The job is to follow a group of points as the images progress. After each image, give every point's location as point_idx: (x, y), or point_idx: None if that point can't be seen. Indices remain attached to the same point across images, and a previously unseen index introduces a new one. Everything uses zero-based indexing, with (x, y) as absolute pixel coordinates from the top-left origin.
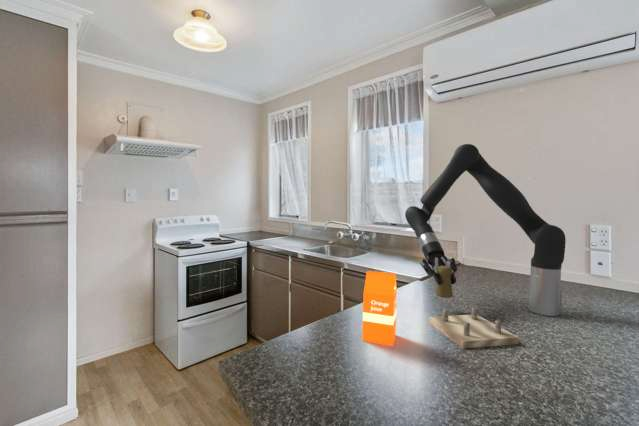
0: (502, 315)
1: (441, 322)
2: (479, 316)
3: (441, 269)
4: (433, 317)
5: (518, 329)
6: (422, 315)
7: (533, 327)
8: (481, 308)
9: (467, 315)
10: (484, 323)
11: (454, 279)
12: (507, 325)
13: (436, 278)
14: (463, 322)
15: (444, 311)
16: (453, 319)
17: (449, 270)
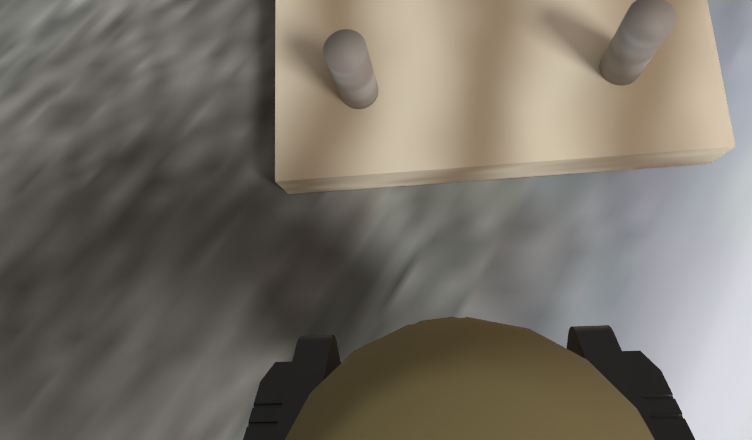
0: (27, 261)
1: (672, 36)
2: (282, 136)
3: (644, 433)
4: (698, 135)
5: (125, 33)
6: (705, 327)
7: (10, 56)
8: (65, 431)
9: (367, 160)
10: (339, 11)
11: (310, 360)
12: (142, 91)
13: (679, 426)
14: (487, 32)
15: (669, 8)
16: (536, 89)
17: (428, 330)
